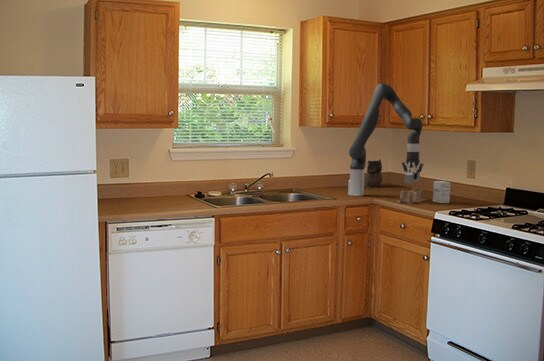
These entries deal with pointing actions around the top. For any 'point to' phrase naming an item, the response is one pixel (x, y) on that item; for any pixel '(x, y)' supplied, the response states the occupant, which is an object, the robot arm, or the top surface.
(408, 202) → the display stand
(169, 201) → the top surface
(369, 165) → the owl
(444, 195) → the supplement box
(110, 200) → the top surface
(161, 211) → the top surface
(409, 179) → the frame bar
